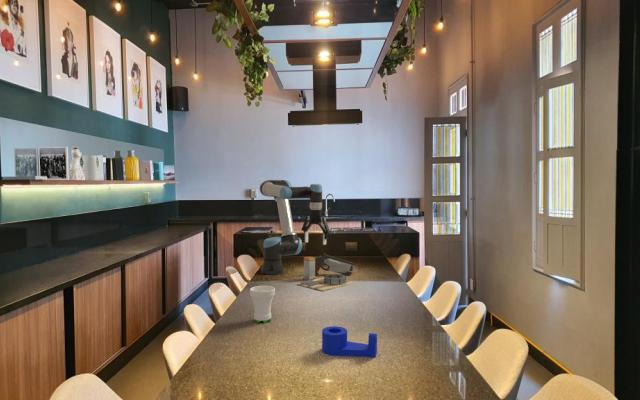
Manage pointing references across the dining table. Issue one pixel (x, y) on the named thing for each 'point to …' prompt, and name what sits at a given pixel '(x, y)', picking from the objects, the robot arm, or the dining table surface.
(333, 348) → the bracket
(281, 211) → the robot arm
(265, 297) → the cup
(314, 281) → the pad
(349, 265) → the gun
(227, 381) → the dining table surface
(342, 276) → the grey octagonal ring
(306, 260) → the block
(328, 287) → the board
